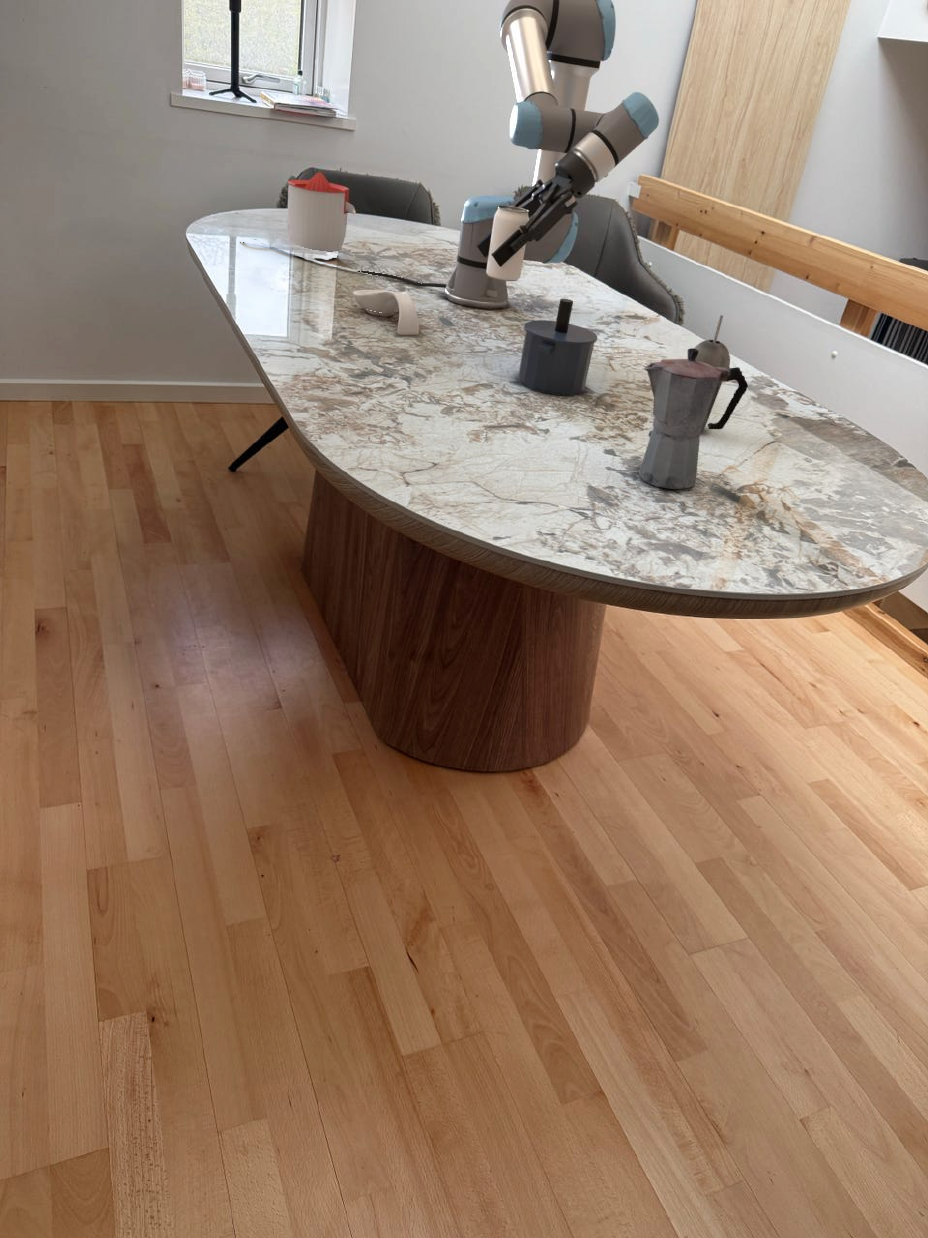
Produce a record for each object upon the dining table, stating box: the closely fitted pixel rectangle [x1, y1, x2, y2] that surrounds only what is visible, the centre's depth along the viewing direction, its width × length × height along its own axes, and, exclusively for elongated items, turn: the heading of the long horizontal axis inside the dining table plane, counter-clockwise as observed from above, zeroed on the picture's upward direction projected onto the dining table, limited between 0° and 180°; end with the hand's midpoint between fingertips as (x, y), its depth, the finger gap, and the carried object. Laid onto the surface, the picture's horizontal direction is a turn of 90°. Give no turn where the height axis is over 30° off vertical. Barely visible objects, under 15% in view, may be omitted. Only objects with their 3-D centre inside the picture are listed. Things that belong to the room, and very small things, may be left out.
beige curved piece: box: [352, 289, 420, 336], centre depth 197 cm, size 24×12×7 cm, turn 25°
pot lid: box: [523, 298, 598, 345], centre depth 169 cm, size 14×14×7 cm
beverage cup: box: [694, 314, 731, 433], centre depth 160 cm, size 7×7×20 cm
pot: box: [517, 331, 595, 396], centre depth 173 cm, size 13×18×10 cm
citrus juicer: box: [286, 171, 357, 252], centre depth 237 cm, size 16×17×20 cm
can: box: [486, 205, 529, 282], centre depth 171 cm, size 6×6×12 cm
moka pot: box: [638, 347, 749, 490], centre depth 137 cm, size 10×15×20 cm, turn 95°
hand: (488, 255), depth 171 cm, fingers closed on can, 6 cm apart
